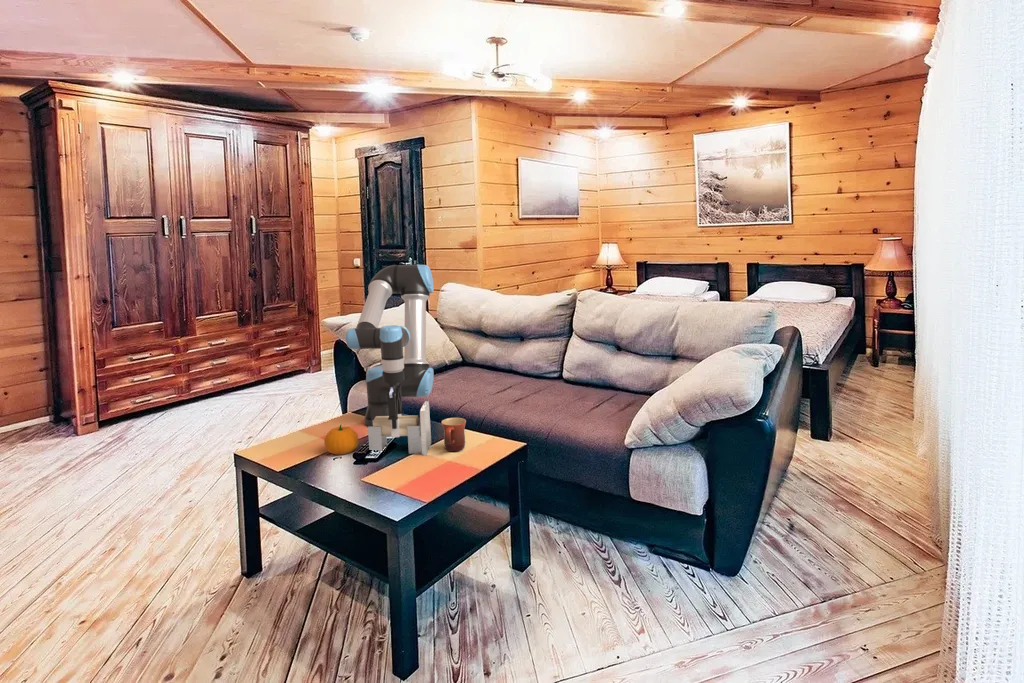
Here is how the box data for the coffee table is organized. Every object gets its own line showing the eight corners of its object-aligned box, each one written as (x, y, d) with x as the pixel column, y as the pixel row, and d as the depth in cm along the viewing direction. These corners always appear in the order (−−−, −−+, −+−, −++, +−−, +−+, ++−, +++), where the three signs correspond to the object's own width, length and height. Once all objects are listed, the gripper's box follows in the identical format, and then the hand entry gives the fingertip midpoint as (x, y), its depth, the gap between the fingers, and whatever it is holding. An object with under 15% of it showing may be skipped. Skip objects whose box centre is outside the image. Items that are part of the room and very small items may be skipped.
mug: (446, 444, 223) (445, 417, 222) (470, 445, 222) (468, 418, 220) (436, 456, 212) (435, 427, 210) (460, 457, 210) (459, 428, 208)
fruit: (355, 443, 227) (353, 417, 225) (362, 453, 216) (360, 426, 215) (322, 449, 222) (320, 422, 220) (328, 459, 211) (325, 432, 210)
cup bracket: (413, 443, 225) (411, 401, 222) (431, 443, 225) (429, 401, 222) (407, 455, 213) (405, 411, 210) (426, 455, 213) (424, 410, 210)
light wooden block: (377, 432, 220) (376, 416, 219) (419, 431, 220) (418, 415, 219) (374, 436, 216) (373, 420, 214) (417, 435, 215) (416, 419, 214)
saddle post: (374, 446, 223) (372, 420, 221) (387, 446, 223) (385, 419, 221) (369, 454, 215) (367, 427, 213) (382, 454, 215) (380, 426, 213)
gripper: (387, 365, 222) (391, 426, 226) (376, 376, 205) (381, 443, 209) (408, 364, 222) (411, 426, 226) (399, 375, 205) (403, 442, 209)
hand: (397, 434), depth 218 cm, fingers open, 5 cm apart
